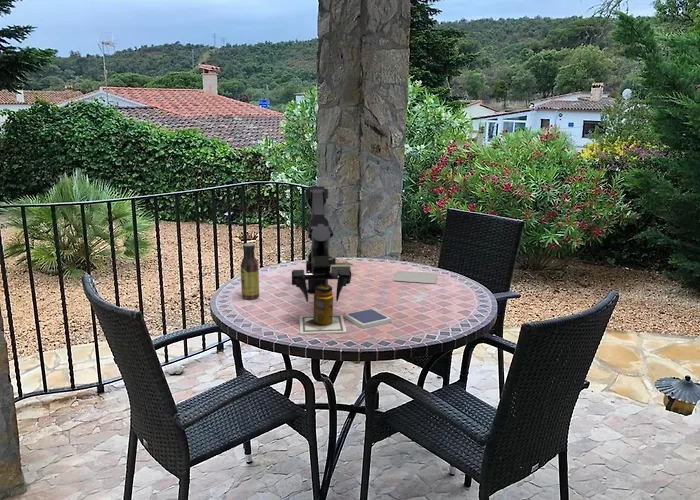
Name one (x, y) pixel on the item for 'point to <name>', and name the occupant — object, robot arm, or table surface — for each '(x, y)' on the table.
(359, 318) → the ink pad
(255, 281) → the sauce bottle
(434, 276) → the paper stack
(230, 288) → the table surface
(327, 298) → the condiment
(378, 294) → the table surface
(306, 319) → the marked board
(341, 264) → the platform
